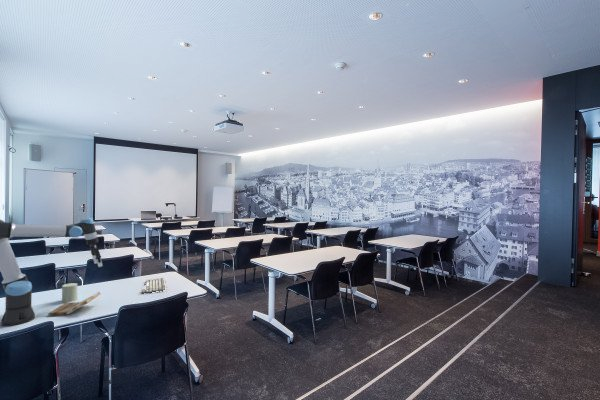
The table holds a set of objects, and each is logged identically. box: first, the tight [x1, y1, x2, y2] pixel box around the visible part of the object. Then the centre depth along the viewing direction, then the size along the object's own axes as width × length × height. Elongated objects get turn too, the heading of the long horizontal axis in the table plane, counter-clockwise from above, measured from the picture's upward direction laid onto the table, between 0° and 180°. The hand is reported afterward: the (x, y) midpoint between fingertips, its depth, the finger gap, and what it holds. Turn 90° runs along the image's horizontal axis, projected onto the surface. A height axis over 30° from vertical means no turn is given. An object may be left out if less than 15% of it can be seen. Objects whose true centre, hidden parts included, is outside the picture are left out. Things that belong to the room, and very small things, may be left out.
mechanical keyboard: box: [141, 277, 165, 295], centre depth 254 cm, size 38×19×3 cm, turn 28°
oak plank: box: [66, 291, 102, 315], centre depth 200 cm, size 14×18×2 cm
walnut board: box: [48, 301, 81, 317], centre depth 198 cm, size 9×18×2 cm, turn 11°
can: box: [61, 282, 78, 303], centre depth 217 cm, size 9×9×12 cm
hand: (98, 264), depth 221 cm, fingers open, 13 cm apart
